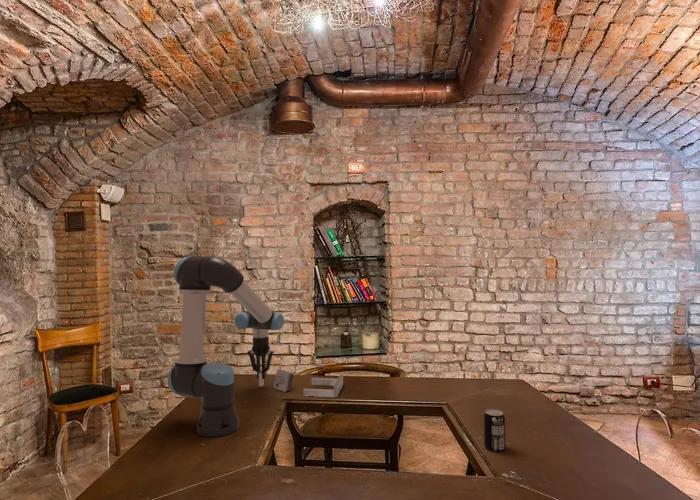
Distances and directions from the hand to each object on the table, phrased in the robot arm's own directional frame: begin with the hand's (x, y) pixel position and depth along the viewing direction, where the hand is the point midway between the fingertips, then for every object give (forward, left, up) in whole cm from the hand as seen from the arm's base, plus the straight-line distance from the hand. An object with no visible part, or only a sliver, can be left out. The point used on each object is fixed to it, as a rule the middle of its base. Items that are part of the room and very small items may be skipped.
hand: (261, 385), depth 210 cm
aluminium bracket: (0, -30, -1) cm, 30 cm away
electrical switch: (0, -11, -2) cm, 11 cm away
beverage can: (-52, -99, -2) cm, 112 cm away
